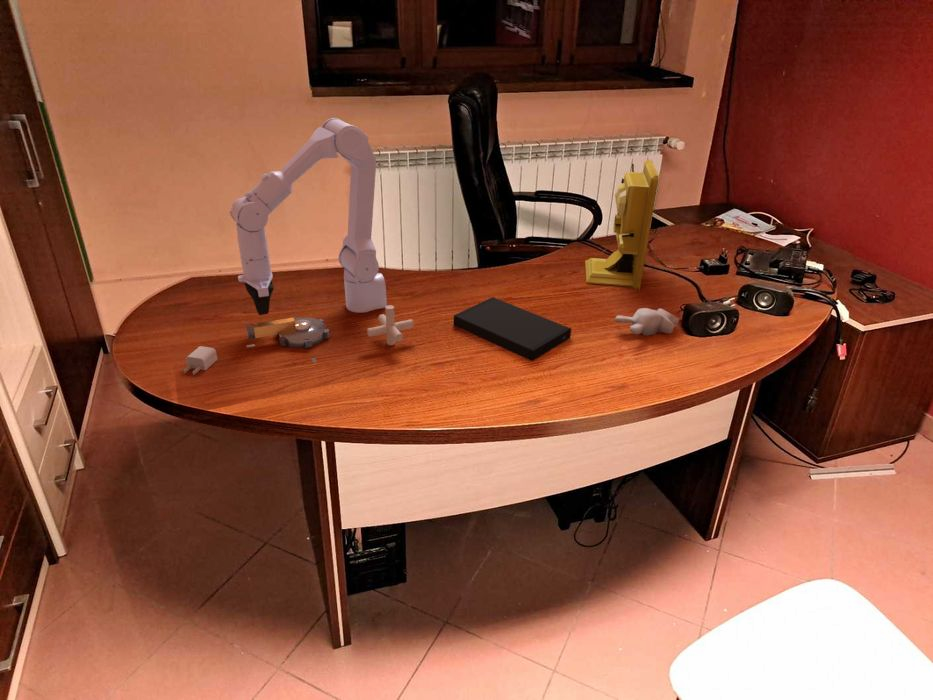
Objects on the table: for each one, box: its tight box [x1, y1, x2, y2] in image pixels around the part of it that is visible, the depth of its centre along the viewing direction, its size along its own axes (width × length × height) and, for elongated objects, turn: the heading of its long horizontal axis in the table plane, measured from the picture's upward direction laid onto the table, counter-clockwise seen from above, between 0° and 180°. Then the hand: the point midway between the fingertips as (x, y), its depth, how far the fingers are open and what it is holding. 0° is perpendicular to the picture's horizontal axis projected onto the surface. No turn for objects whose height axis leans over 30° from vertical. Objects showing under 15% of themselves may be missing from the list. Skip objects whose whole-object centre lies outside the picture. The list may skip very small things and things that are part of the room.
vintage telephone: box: [584, 158, 659, 291], centre depth 173 cm, size 31×14×30 cm, turn 172°
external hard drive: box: [453, 297, 572, 362], centre depth 149 cm, size 14×23×3 cm, turn 48°
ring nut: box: [245, 316, 331, 349], centre depth 140 cm, size 17×12×4 cm
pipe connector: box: [366, 304, 415, 346], centre depth 139 cm, size 10×10×10 cm
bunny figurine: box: [613, 307, 680, 336], centre depth 150 cm, size 10×5×15 cm
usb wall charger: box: [183, 345, 218, 375], centre depth 131 cm, size 4×7×4 cm, turn 167°
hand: (263, 313), depth 143 cm, fingers closed
